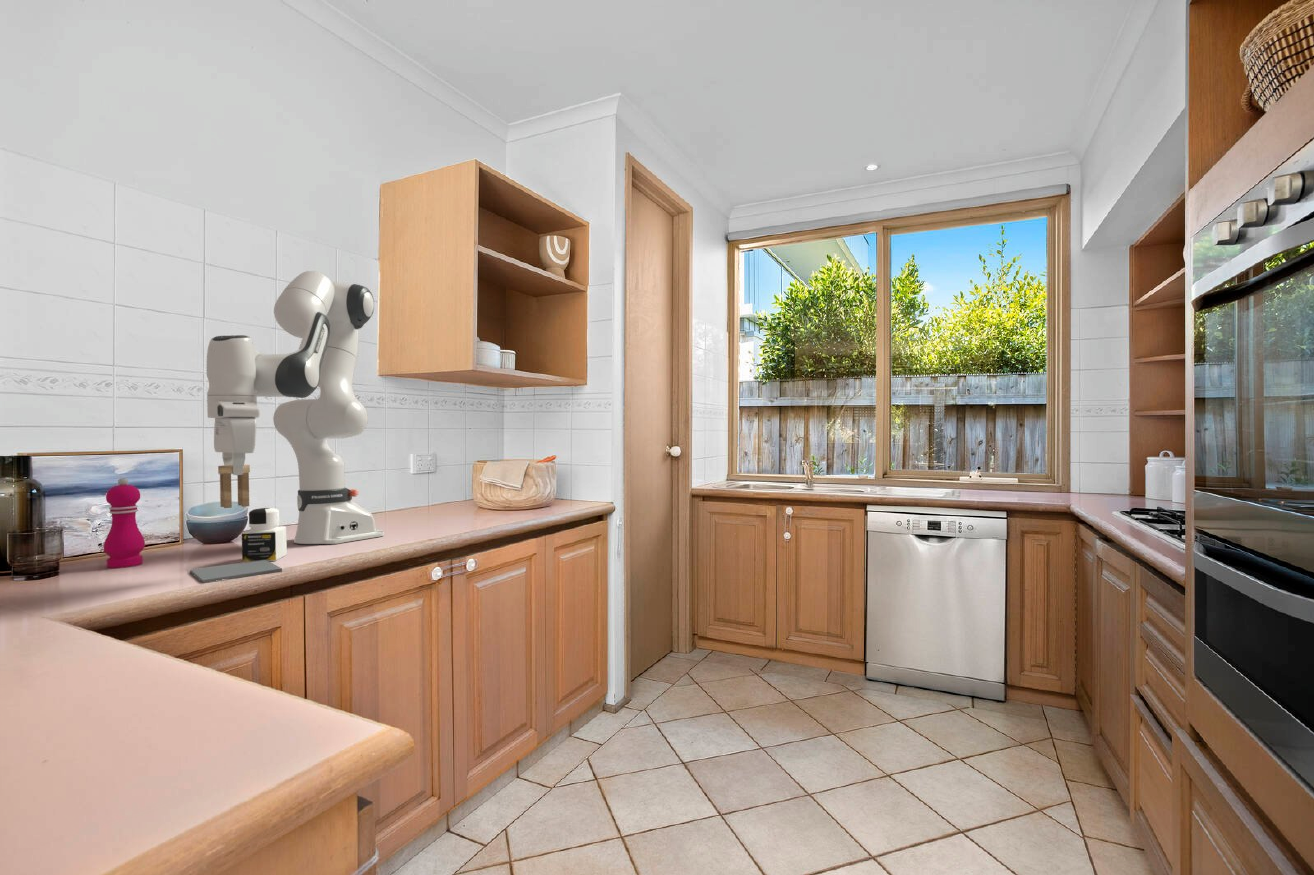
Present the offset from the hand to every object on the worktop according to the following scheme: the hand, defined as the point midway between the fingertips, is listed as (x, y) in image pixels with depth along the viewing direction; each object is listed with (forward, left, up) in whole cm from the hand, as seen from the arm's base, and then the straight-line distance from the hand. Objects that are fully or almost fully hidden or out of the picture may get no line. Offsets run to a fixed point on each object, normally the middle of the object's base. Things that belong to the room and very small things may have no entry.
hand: (234, 474), depth 135 cm
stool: (0, 0, -7) cm, 7 cm away
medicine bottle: (-8, -11, -21) cm, 25 cm away
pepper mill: (+16, -28, -21) cm, 39 cm away
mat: (0, 0, -21) cm, 21 cm away
